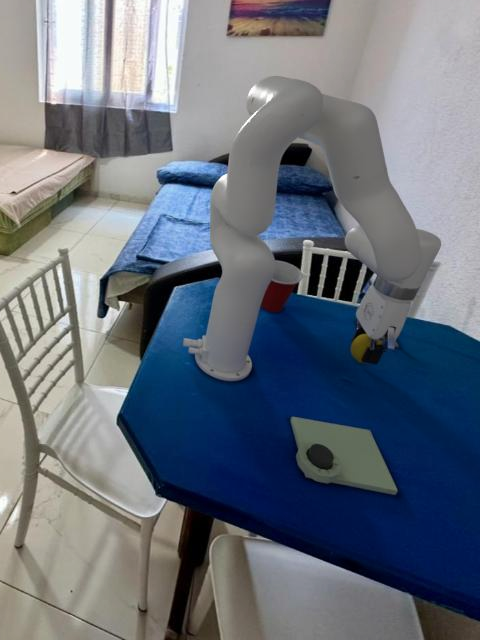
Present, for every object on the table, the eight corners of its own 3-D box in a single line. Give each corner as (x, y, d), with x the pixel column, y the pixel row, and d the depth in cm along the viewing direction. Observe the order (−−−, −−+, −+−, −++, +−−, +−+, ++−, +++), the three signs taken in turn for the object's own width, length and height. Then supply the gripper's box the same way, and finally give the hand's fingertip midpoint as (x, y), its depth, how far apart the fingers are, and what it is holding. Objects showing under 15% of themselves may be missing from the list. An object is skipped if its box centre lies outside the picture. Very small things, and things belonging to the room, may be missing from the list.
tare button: (310, 467, 68) (313, 460, 67) (305, 448, 71) (308, 441, 70) (333, 471, 67) (336, 464, 67) (327, 452, 71) (330, 445, 70)
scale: (299, 482, 68) (304, 471, 67) (283, 419, 80) (287, 408, 78) (398, 502, 66) (406, 491, 64) (367, 434, 77) (373, 423, 76)
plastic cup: (254, 315, 110) (264, 278, 104) (247, 294, 119) (256, 258, 113) (296, 320, 108) (309, 282, 102) (286, 298, 118) (297, 262, 112)
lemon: (377, 372, 91) (391, 345, 88) (350, 368, 92) (363, 340, 88) (367, 356, 96) (380, 329, 92) (342, 352, 97) (354, 325, 93)
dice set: (391, 342, 101) (394, 336, 100) (368, 337, 103) (371, 331, 102) (386, 330, 106) (389, 324, 105) (364, 326, 107) (367, 320, 106)
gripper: (360, 264, 92) (334, 327, 101) (393, 307, 77) (359, 376, 86) (396, 269, 91) (367, 332, 100) (437, 313, 76) (398, 383, 85)
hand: (363, 352), depth 93 cm, fingers closed on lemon, 5 cm apart
